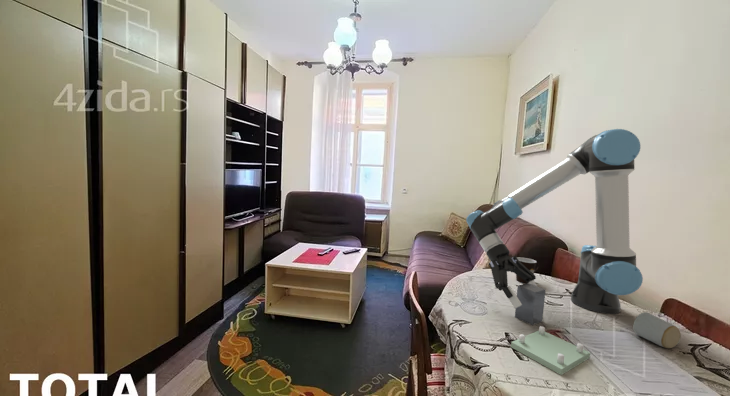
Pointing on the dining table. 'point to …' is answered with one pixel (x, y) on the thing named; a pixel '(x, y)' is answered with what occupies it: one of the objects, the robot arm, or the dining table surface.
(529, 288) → the block
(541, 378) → the dining table surface
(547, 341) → the pin plate
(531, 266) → the coffee mug
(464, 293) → the dining table surface
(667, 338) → the grey cylinder
